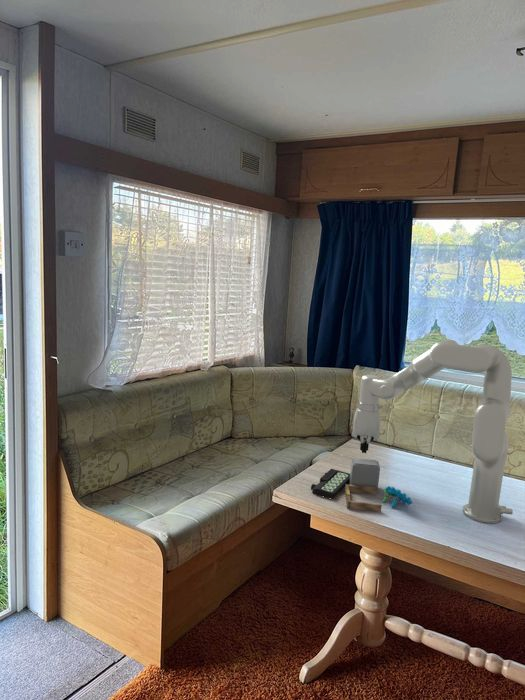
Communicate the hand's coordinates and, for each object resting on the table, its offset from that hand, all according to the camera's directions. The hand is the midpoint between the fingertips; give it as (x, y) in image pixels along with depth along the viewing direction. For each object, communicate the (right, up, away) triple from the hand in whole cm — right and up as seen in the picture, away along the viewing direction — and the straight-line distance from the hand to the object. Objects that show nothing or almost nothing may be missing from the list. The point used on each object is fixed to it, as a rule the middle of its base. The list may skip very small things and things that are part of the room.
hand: (363, 451), depth 203 cm
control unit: (-2, -12, -7) cm, 14 cm away
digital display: (-14, -12, -6) cm, 20 cm away
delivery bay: (-4, -14, -18) cm, 23 cm away
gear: (+8, -15, -19) cm, 26 cm away
